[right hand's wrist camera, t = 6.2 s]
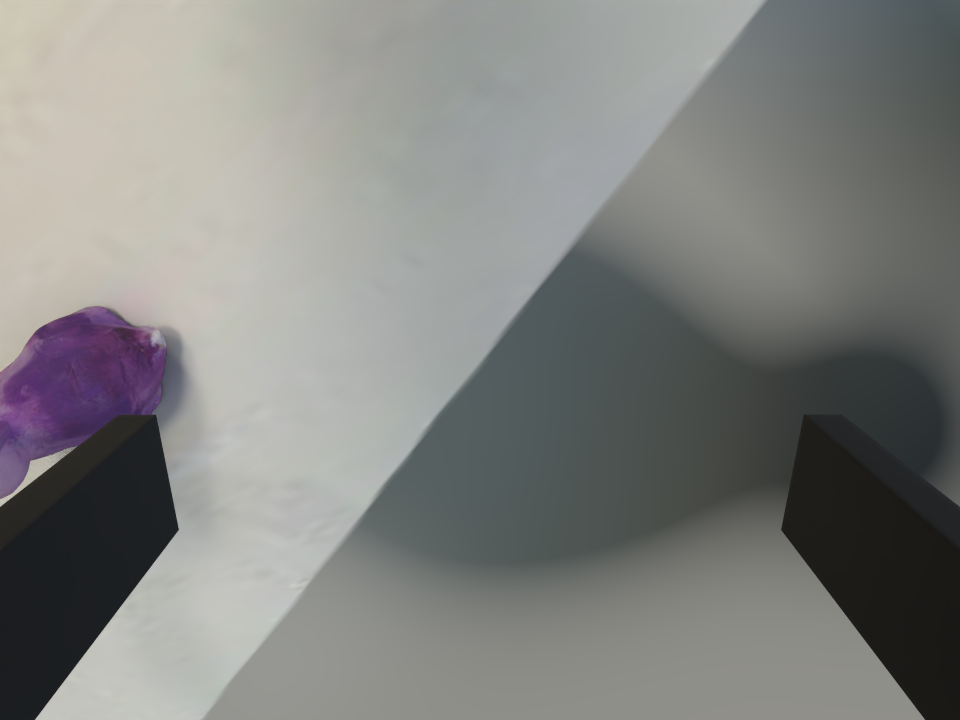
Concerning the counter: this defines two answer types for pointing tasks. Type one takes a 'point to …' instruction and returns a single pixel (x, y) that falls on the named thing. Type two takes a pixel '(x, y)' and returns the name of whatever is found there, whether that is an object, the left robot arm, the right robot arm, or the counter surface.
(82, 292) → the counter surface
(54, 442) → the figurine
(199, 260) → the counter surface
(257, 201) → the counter surface
